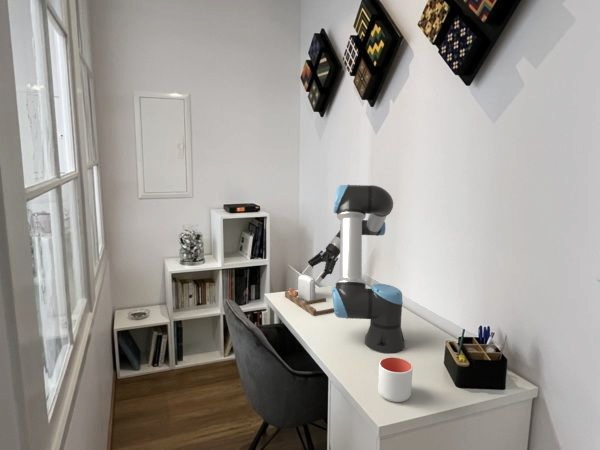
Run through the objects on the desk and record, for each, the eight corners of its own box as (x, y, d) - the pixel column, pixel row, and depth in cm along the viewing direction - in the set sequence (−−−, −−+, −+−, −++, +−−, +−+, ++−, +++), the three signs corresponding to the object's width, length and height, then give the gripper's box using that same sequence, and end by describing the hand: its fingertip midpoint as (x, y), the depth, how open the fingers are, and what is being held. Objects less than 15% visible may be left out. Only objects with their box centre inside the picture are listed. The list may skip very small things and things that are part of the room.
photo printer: (296, 297, 220) (297, 274, 218) (303, 295, 223) (303, 272, 221) (309, 302, 213) (310, 278, 210) (316, 301, 215) (316, 277, 213)
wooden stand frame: (341, 310, 202) (341, 298, 201) (313, 316, 195) (313, 303, 194) (310, 292, 228) (310, 281, 227) (285, 296, 221) (285, 285, 220)
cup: (395, 407, 126) (397, 376, 125) (371, 392, 134) (372, 362, 133) (417, 396, 132) (419, 366, 130) (392, 382, 140) (394, 354, 138)
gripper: (353, 256, 213) (327, 290, 209) (326, 247, 235) (302, 277, 230) (345, 247, 210) (318, 281, 205) (318, 238, 231) (293, 268, 227)
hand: (309, 279), depth 218 cm, fingers open, 13 cm apart
